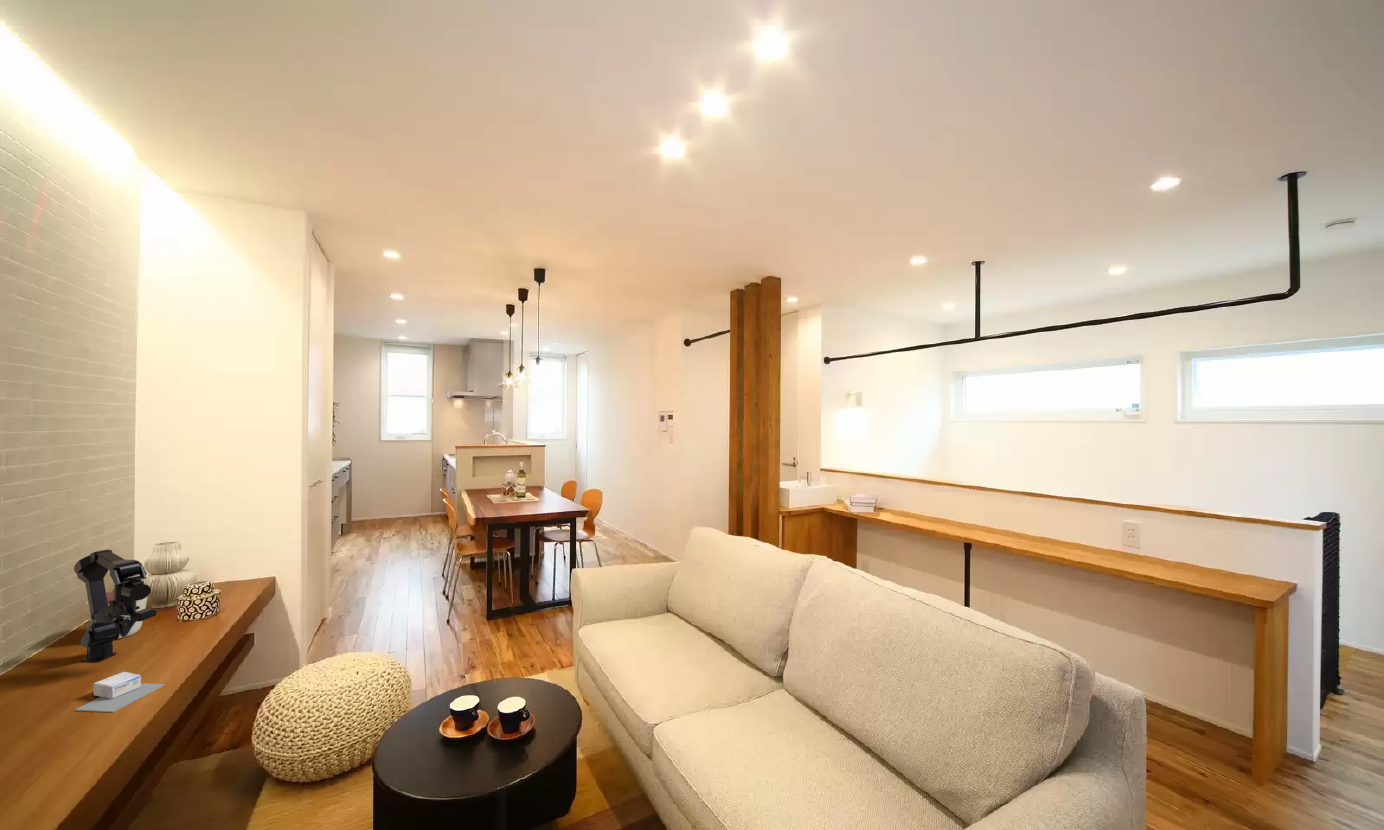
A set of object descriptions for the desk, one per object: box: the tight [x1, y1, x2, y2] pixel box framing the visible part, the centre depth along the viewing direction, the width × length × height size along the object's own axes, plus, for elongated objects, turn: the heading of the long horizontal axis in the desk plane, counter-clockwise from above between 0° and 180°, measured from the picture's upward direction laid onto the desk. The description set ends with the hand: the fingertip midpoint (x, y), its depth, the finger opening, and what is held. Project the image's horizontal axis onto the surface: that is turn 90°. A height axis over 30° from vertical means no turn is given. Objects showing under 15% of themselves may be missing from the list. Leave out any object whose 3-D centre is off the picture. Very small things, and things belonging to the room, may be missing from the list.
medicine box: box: [93, 671, 142, 699], centre depth 174 cm, size 8×4×9 cm
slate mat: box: [74, 682, 165, 714], centre depth 171 cm, size 12×16×1 cm
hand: (124, 636), depth 189 cm, fingers closed
